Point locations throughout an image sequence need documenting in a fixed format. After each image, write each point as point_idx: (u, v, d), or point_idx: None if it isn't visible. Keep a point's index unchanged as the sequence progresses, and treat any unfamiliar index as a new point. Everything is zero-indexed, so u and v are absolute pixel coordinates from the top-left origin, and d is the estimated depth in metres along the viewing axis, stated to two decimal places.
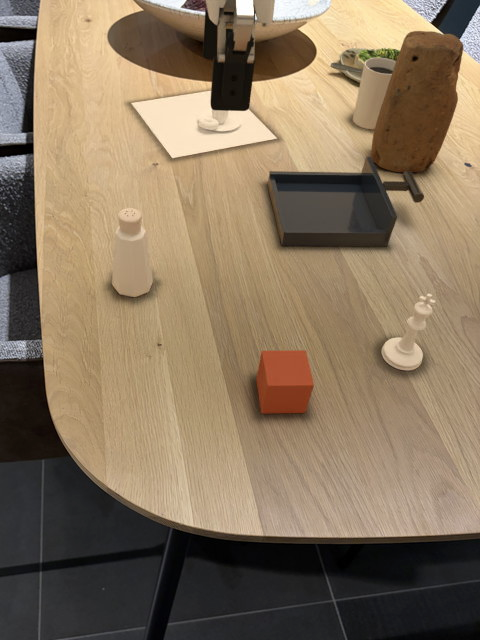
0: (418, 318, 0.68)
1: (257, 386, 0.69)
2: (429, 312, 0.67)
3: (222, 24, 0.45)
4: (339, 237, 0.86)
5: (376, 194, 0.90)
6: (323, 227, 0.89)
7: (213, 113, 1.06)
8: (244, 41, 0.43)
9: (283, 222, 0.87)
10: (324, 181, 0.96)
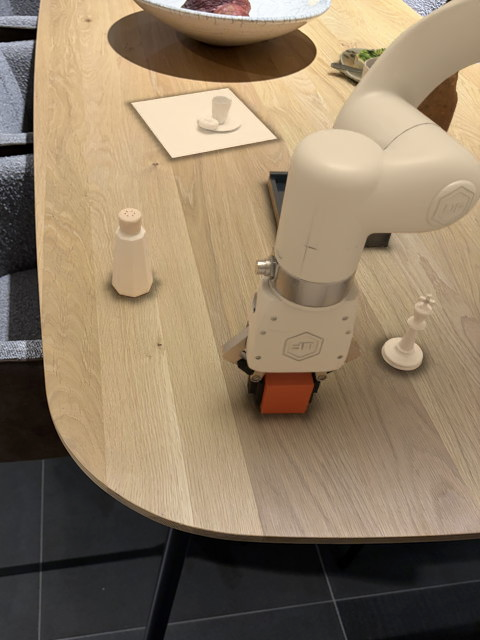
0: (418, 318, 0.68)
1: None
2: (429, 312, 0.67)
3: None
4: None
5: None
6: None
7: (213, 113, 1.06)
8: None
9: None
10: None
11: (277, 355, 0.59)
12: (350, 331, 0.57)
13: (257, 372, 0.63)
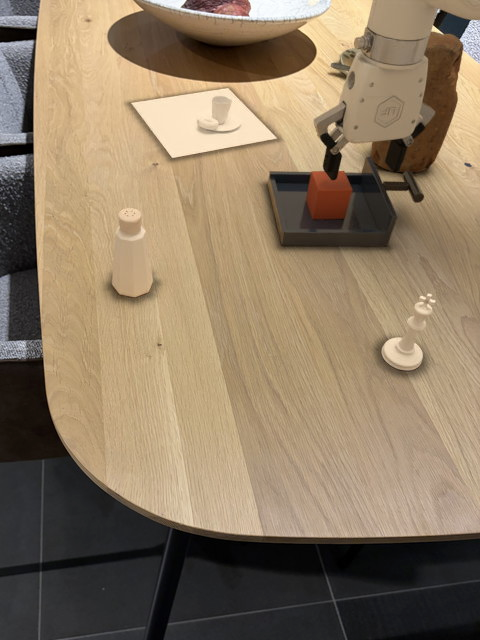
0: (418, 318, 0.68)
1: (307, 203, 0.92)
2: (429, 312, 0.67)
3: (336, 128, 0.81)
4: (339, 237, 0.86)
5: (376, 194, 0.90)
6: (323, 227, 0.89)
7: (213, 113, 1.06)
8: (318, 134, 0.80)
9: (283, 222, 0.87)
10: None
11: (369, 122, 0.78)
12: (422, 94, 0.77)
13: (337, 143, 0.80)
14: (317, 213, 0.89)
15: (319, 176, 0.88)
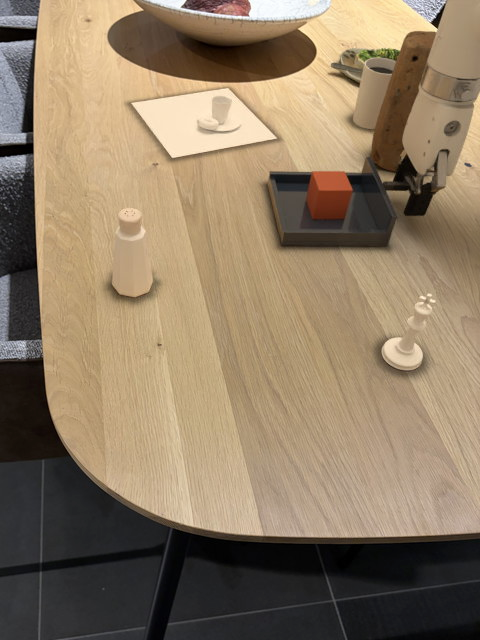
0: (418, 318, 0.68)
1: (307, 203, 0.92)
2: (429, 312, 0.67)
3: (422, 177, 0.84)
4: (339, 237, 0.86)
5: (376, 194, 0.90)
6: (323, 227, 0.89)
7: (213, 113, 1.06)
8: (436, 190, 0.82)
9: (283, 222, 0.87)
10: None
11: None
12: None
13: None
14: (317, 213, 0.89)
15: (319, 176, 0.88)
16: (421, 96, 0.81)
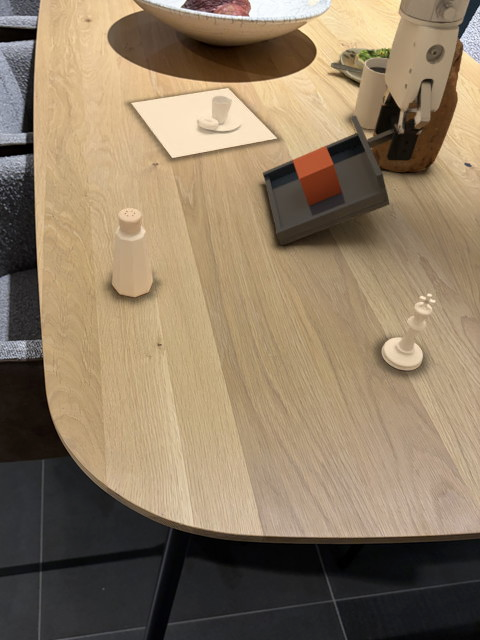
0: (418, 318, 0.68)
1: None
2: (429, 312, 0.67)
3: (405, 113, 0.76)
4: (334, 216, 0.83)
5: (365, 154, 0.84)
6: (320, 210, 0.86)
7: (213, 113, 1.06)
8: (420, 126, 0.75)
9: (277, 222, 0.87)
10: None
11: None
12: None
13: None
14: (310, 198, 0.87)
15: (300, 162, 0.86)
16: (402, 23, 0.74)
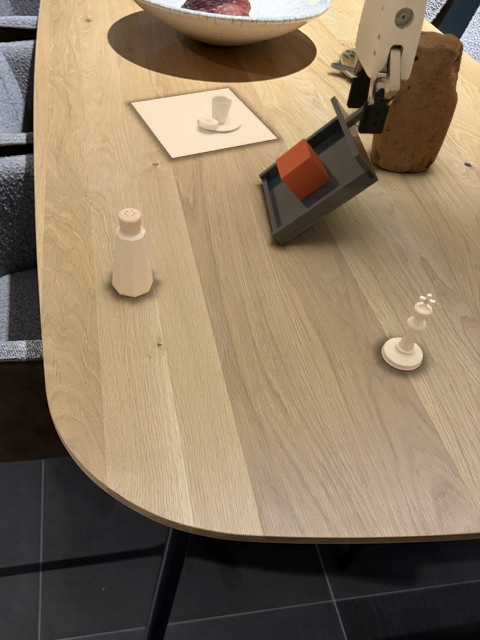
0: (418, 318, 0.68)
1: None
2: (429, 312, 0.67)
3: (375, 83, 0.73)
4: (324, 206, 0.82)
5: None
6: (313, 201, 0.85)
7: (213, 113, 1.06)
8: (390, 96, 0.72)
9: (273, 223, 0.87)
10: (311, 147, 0.91)
11: None
12: None
13: None
14: (299, 194, 0.86)
15: (281, 161, 0.86)
16: None
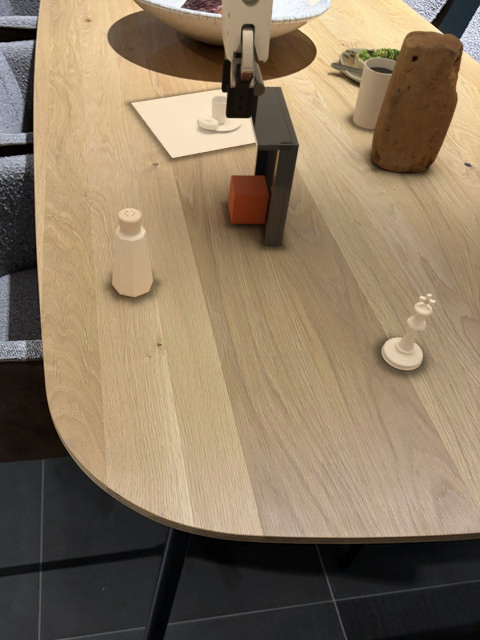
0: (418, 318, 0.68)
1: (265, 181, 0.88)
2: (429, 312, 0.67)
3: (234, 65, 0.71)
4: (278, 196, 0.80)
5: None
6: None
7: (213, 113, 1.06)
8: (247, 78, 0.69)
9: None
10: None
11: None
12: None
13: None
14: (264, 201, 0.87)
15: None
16: None
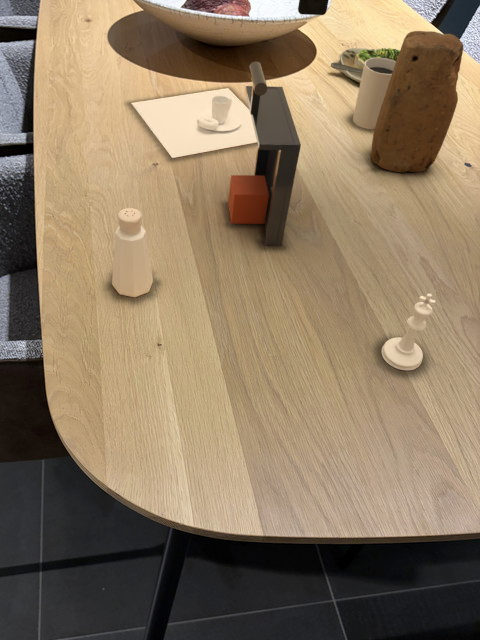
0: (418, 318, 0.68)
1: (265, 181, 0.88)
2: (429, 312, 0.67)
3: None
4: (279, 196, 0.80)
5: None
6: None
7: (213, 113, 1.06)
8: None
9: (266, 230, 0.88)
10: None
11: None
12: None
13: None
14: (264, 201, 0.87)
15: None
16: None
